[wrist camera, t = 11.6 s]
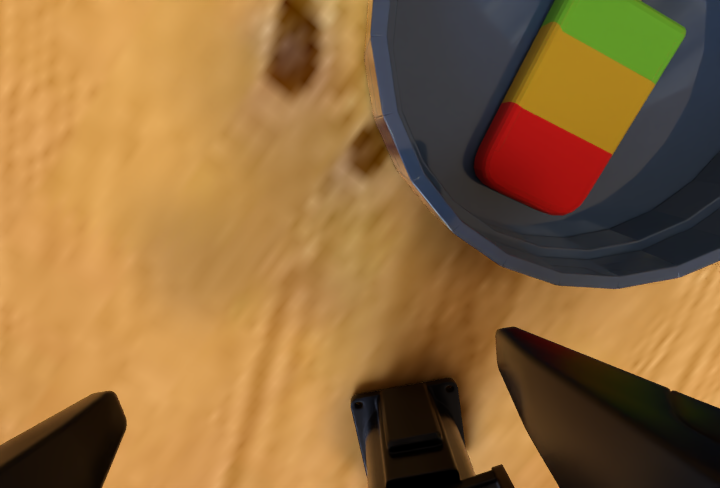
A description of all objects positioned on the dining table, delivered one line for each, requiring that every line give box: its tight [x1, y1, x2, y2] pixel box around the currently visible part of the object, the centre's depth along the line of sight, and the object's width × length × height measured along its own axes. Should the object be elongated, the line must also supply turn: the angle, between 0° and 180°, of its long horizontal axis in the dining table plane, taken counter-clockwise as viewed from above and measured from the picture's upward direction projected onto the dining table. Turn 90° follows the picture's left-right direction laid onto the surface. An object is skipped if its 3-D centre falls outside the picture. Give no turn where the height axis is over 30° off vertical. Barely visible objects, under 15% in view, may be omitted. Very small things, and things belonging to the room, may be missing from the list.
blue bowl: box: [364, 0, 720, 289], centre depth 16 cm, size 20×20×5 cm
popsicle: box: [474, 0, 686, 216], centre depth 17 cm, size 6×15×2 cm, turn 156°
